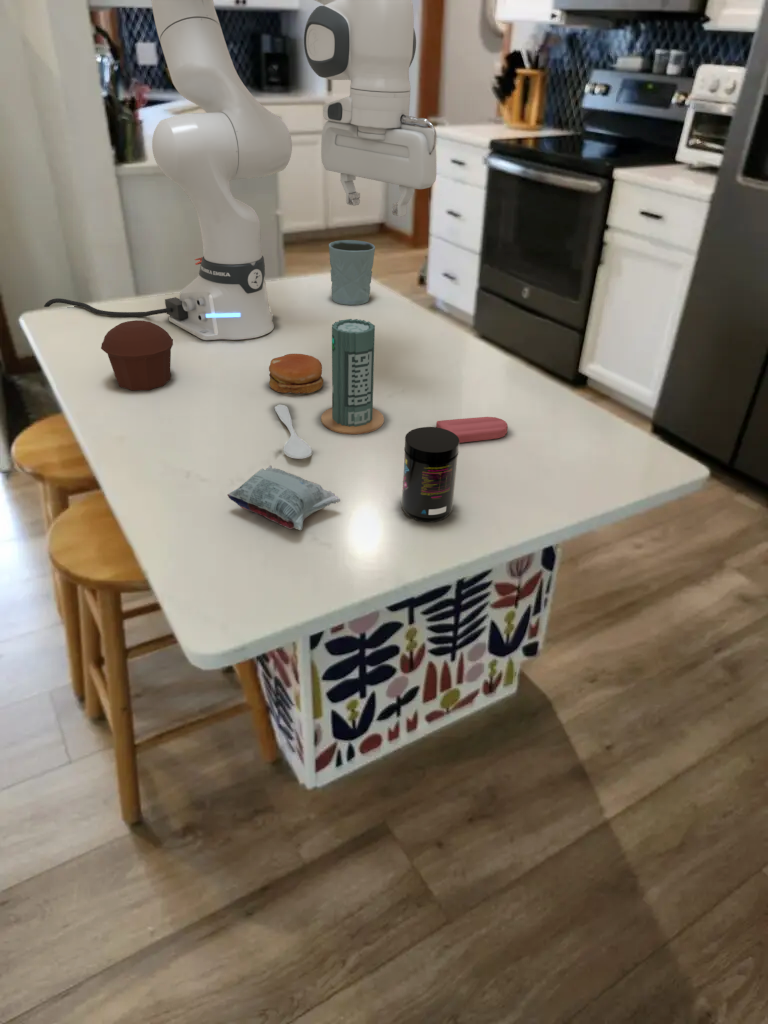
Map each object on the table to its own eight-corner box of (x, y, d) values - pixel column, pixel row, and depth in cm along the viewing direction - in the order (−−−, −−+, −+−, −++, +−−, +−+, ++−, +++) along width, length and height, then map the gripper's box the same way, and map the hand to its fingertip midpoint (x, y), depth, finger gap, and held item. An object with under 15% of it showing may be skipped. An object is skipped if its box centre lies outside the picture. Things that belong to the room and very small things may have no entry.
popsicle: (410, 422, 115) (500, 414, 118) (409, 431, 116) (498, 423, 119) (420, 438, 111) (513, 429, 114) (419, 447, 111) (512, 438, 115)
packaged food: (272, 482, 102) (270, 451, 99) (341, 512, 96) (341, 479, 93) (226, 511, 96) (223, 478, 93) (297, 544, 90) (295, 510, 87)
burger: (329, 393, 127) (329, 367, 124) (276, 399, 124) (274, 373, 121) (315, 371, 134) (314, 346, 132) (264, 376, 132) (262, 351, 129)
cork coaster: (308, 421, 118) (308, 418, 117) (348, 401, 124) (348, 398, 124) (357, 440, 113) (357, 438, 112) (396, 418, 119) (396, 416, 119)
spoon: (287, 468, 105) (287, 458, 104) (267, 406, 121) (266, 397, 121) (316, 465, 106) (316, 455, 105) (292, 404, 122) (292, 395, 122)
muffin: (170, 363, 135) (163, 309, 129) (185, 387, 127) (178, 330, 121) (102, 373, 130) (91, 317, 125) (113, 398, 122) (102, 339, 117)
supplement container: (435, 491, 101) (441, 422, 95) (462, 516, 96) (470, 445, 90) (391, 503, 98) (395, 432, 93) (417, 529, 93) (422, 456, 88)
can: (361, 406, 122) (363, 317, 113) (377, 422, 117) (381, 330, 109) (327, 413, 119) (326, 322, 111) (342, 429, 115) (343, 335, 107)
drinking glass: (320, 298, 169) (319, 244, 163) (349, 289, 176) (350, 237, 169) (353, 309, 164) (353, 253, 158) (382, 299, 171) (384, 245, 164)
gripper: (449, 118, 107) (440, 219, 115) (341, 102, 117) (340, 196, 125) (423, 121, 103) (416, 225, 111) (314, 105, 113) (315, 201, 121)
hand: (375, 210), depth 118 cm, fingers open, 8 cm apart
